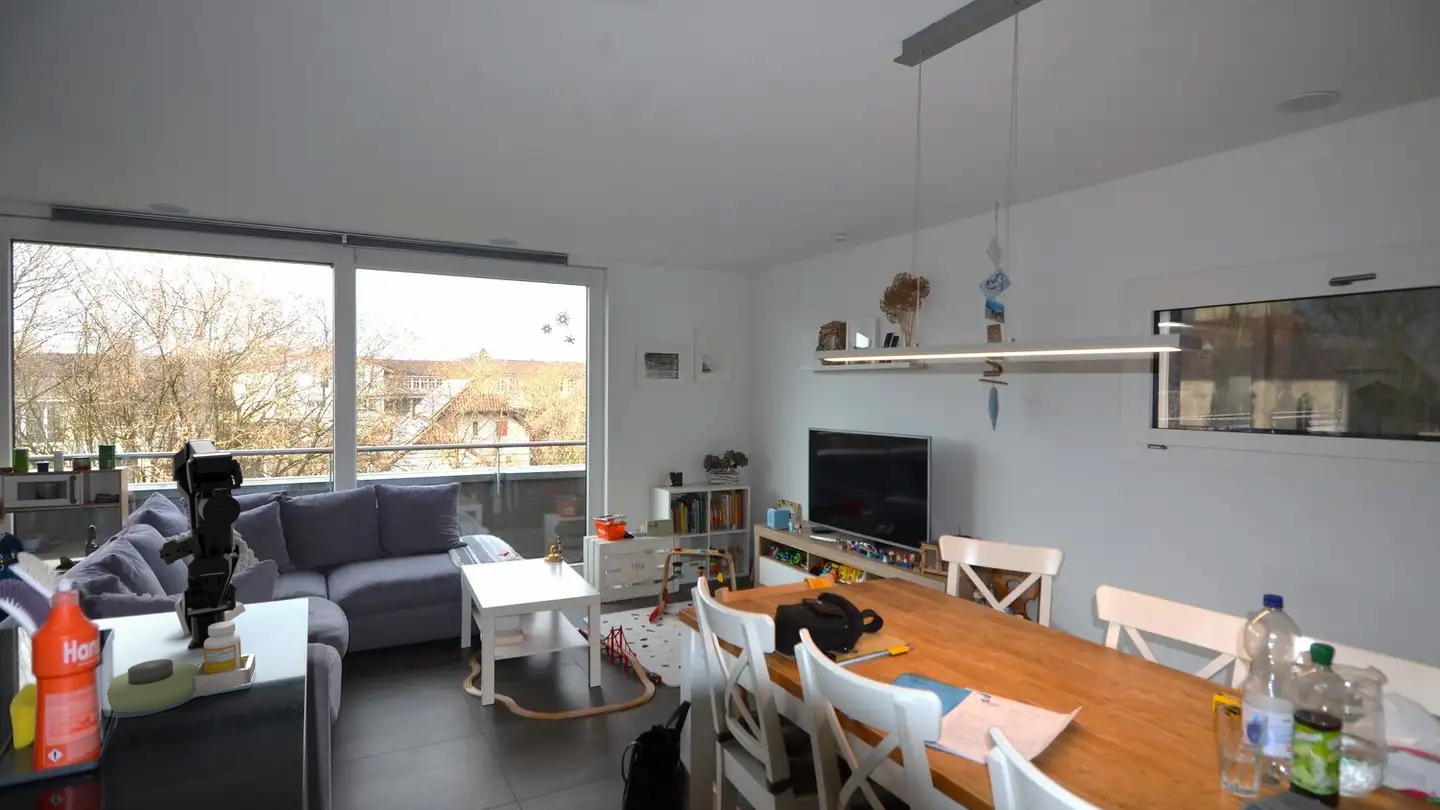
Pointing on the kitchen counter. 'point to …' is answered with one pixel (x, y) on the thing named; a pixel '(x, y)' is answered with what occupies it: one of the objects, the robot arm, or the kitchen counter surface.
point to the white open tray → (224, 676)
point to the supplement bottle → (222, 648)
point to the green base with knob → (151, 686)
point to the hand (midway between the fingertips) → (218, 601)
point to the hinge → (187, 623)
